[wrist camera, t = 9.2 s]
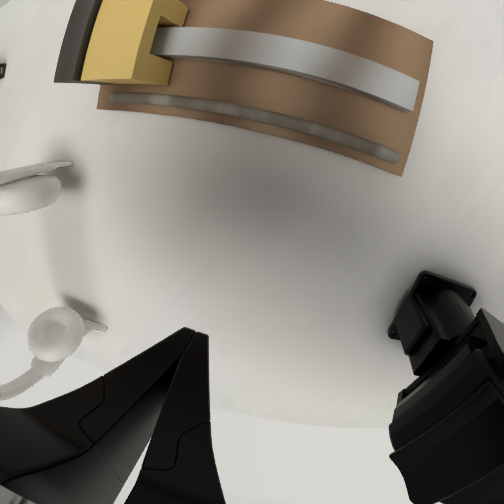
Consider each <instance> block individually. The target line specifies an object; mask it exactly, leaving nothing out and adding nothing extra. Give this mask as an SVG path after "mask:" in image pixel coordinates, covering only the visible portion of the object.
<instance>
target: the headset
mask: <svg viewBox="0 0 504 504" xmlns="http://www.w3.org/2000/svg"><path fill="white" fill-rule="evenodd" d="M68 165H72V162H49V163H41V164H35V165H30V166H25V167H20V168H16V169H11V170H7V171H3V172H0V215H15V214H22V213H26V212H31V211H34V210H38V209H41V208H43V207H46V206H48V205H50V204H52V203H53V202H55V201H56V200H57V199H58V197H59V195H60V193H61V183H60V181H59V179H58V178H57V177H55V176H51V175H37V174H41V173H46V172H50V171H54V170H55V169H56V168H58V167H62V166H68ZM91 331H95V332H99V333H105V332H106V331H107V326H104V325H102V324H99V323H96V322H93V321H90V320H84V319H81V317H80V315H79V314H78V313H77V312H76V311H74V310H73V309H71V308H67V307H55V308H51V309H49V310H46V311H44V312H43V313H41V314H40V315H39V316H38V317H37V318H36V319H35V320H34V321H33V322H32V324H31V326H30V328H29V330H28V335H27V342H28V346H29V348H30V351H31V352H32V353H33V354H34V356H35V357H34V358H33V360H32V363H31V369H30V370H28V371H27V372H26V373H24V374H23V375H21V376H20V377H18V378H16V379H15V380H13V381H11V382H9V383H7V384H4V385H1V386H0V401H1V400H6V399H9V398H12V397H15V396H17V395H19V394H21V393H22V392H24V391H26V390H27V389H29V388H30V387H31V386H33V385H34V384H36V383H37V382H38V381H40V380H41V379H43V378H45V377H49V376H51V375H52V374H53V373H54V372H55V371H56V370H57V369H58V367H59V366H60V365H61V363H62V362H63V361H64V360H65V358H66V357H68V356H69V355H71V354H72V353H73V352H74V351H75V350H76V349H77V348H78V346H79V345H80V343H81V341H82V339H83V337H84V336H85V335H86V334H87V333H89V332H91Z"/></svg>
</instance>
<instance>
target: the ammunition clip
mask: <svg viewBox="0 0 504 504" xmlns="http://www.w3.org/2000/svg"><path fill="white" fill-rule="evenodd" d="M5 68H6V63H5V64H0V79H2V78H3V77H4V74H5Z"/></svg>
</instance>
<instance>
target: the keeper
mask: <svg viewBox="0 0 504 504" xmlns="http://www.w3.org/2000/svg"><path fill="white" fill-rule="evenodd" d="M187 11H188V7H187V6H186V5H184V4H183V3H182V2H181V1H179V0H103V1H102V4H101V7H100V10H99V13H98V16H97V19H96V22H95V25H94V28H93V32H92V35H91V39H90V42H89V46H88V50H87V54H86V58H85V62H84V67H83V71H82V76H81V81H95V82H106V83H115V84H142V85H162V86H167V85H168V80H169V76H170V72H171V68H172V64H173V62H171V61H168V60H166V59H163V58H160V57H158V56H155V55H152V54H150V50H151V46H152V42H153V39H154V35H155V32H156V28H163V27H183V24H184V20H185V17H186V14H187Z"/></svg>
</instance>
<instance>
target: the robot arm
mask: <svg viewBox="0 0 504 504" xmlns="http://www.w3.org/2000/svg"><path fill="white" fill-rule="evenodd" d="M424 277H427V278H426V279H425V280H423V278H424ZM471 293H472V294H471ZM470 294H471V295H470ZM475 297H476V291H475V289H474V288H472V287H469V286H466V285H464V284H461V283H458V282H455V281H453V280H450V279H447V278H444V277H441V276H439V275H436V274H433V273H430V272H427V271H424V272H422V273H421V274H420V275H419V277H418V279H417V281H416V283H415V284H414V286H413V288H412V290H411V292H410V294H409V295H407V297H406V299H405V301H404V302H403V304H402V306H401V308H400V309H399V311H398V313H397V315H396V316H395V318H394V322H393V323H392V325H391V326H390V328H389V330H388V336H389V338H391V339H396V340H400V341H401V343H402V346H403V349H404V353H405V355H408V356H409V359H410V363H411V366H412V370H413V373H414V375H416V376H419V377H418V378H417V379H416V380H415V381H414V382H413V383H412V384H411V385H409V386H408V387H407V388H406V389H403V390H402V391H401V392H399V393H398V399H397V406H396V408H395V410H394V415H393V420H392V423H391V424H390V425H389V435H390V440H391V443H392V446H393V449H394V451H395V452H393V453H391V454H390V455H389V457H390V459H391V460H392V461H393V462H394V463H395V465H396V466H397V467H398V469H399V470H400V472H401V474H402V476H403V478H404V481H405V484H406V488H407V491H408V495H409V499H410V501H411V502H412V503H413V504H435V503H437V502H440V503H443V504H504V324H503V323H502V322H500V321H499V320H498V319H496V318H495V317H494V316H492V315H491V314H490V313H488V312H487V311H486V310H484V309H483V308H480V310H479V311H478V312H477V314H476V315H477V316H476V317H475V315H474V314H473V312H472V311H471V309H470V308H469V307H470V305H471V304H472V302H473V300H474V298H475ZM393 332H395V333H393ZM150 438H151V440H150ZM149 440H150V443H149V446H148V449H147V452H146V455H145V458H144V461H143V464H142V469H141V470H140V473H139V476H138V478H137V481H136V483H135V486H134V487H133V489H132V491H131V492H130V494H129V496H128V498H127V499H126V501H125V503H124V504H226V503H225V499H224V496H223V492H222V488H221V484H220V480H219V476H218V472H217V468H216V464H215V459H214V453H213V448H212V438H211V422H210V393H209V336H208V335H207V334H204V333H201V332H196V331H195V330H192V329H190V328H187V327H183V328H181V329H180V330H178V331H177V332H175V333H173V334H172V335H170V336H168V337H167V338H165V339H163V340H162V341H160V342H158V343H157V344H155V345H154V346H152V347H150V348H149V349H147V350H145V351H144V352H142V353H140V354H138V355H137V356H135V357H133V358H132V359H130V360H128V361H127V362H125V363H123V364H122V365H120V366H118V367H116V368H115V369H113V370H111V371H110V372H108V373H106V374H105V375H104V376H101V377H99V378H97V379H96V380H94V381H92V382H90V383H88V384H86V385H84V386H82V387H81V388H79V389H76V390H74V391H72V392H69V393H67V394H64V395H62V396H60V397H57V398H54V399H52V400H49V401H47V402H44V403H41V404H39V405H36V406H33V407H29V408H8V407H0V504H113V503H114V501H115V500H116V498H117V496H118V494H119V493H120V491H121V489H122V487H123V486H124V484H125V482H126V480H127V479H128V477H129V475H130V473H131V472H132V470H133V468H134V466H135V465H136V463H137V461H138V459H139V458H140V456H141V454H142V452H143V451H144V449H145V447H146V445H147V444H148V442H149Z"/></svg>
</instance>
